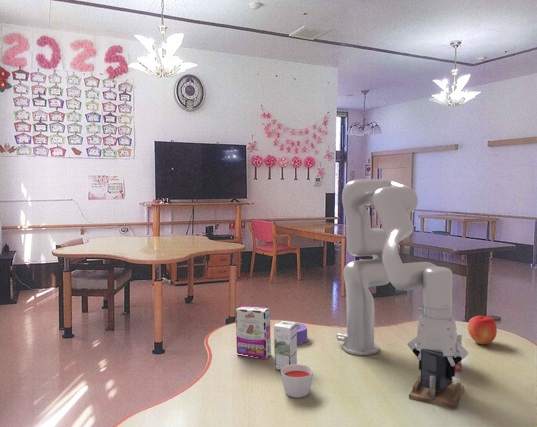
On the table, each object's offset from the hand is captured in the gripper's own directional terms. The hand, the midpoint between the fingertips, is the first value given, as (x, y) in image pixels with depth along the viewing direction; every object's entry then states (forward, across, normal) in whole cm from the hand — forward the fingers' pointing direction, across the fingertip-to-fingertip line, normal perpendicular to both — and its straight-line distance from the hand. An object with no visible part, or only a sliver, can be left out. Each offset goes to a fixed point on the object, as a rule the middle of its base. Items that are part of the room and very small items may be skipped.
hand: (436, 375), depth 124 cm
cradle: (+5, 0, 0) cm, 5 cm away
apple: (+5, +6, +48) cm, 49 cm away
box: (+3, 0, 0) cm, 3 cm away
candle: (+6, -34, -19) cm, 39 cm away
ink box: (+6, 0, +21) cm, 22 cm away
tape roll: (+6, -56, +18) cm, 59 cm away
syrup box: (+6, -45, -6) cm, 46 cm away
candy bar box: (+6, -60, -2) cm, 60 cm away
